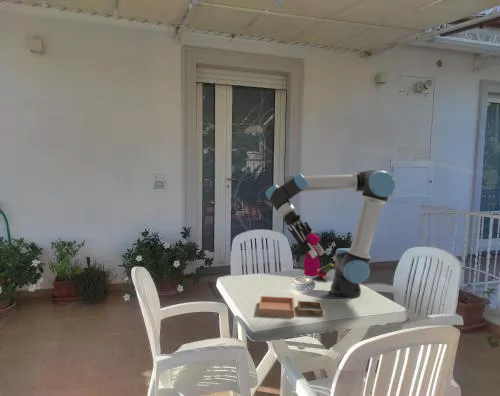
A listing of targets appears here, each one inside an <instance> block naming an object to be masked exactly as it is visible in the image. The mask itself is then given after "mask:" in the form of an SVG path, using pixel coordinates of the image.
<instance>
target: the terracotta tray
mask: <svg viewBox="0 0 500 396" xmlns="http://www.w3.org/2000/svg"><path fill="white" fill-rule="evenodd" d="M257 315H258V316H268V317H269V316H270V317H284V318H285V317H286V318H287V317H288V318H295V297H287V296H286V297H284V296H270V295H269V296H268V295H266V296H265V295H260V299H259V303H258V312H257Z"/></svg>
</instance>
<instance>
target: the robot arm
mask: <svg viewBox="0 0 500 396" xmlns="http://www.w3.org/2000/svg"><path fill="white" fill-rule="evenodd" d="M395 188H396V181H395V179H394V176H393V175H392V174H391V173H389V172H387V171H385V170H382V169H380V170H379V169H378V170H377V169H371V170H365V171H356V172H355V171H353V173H351V174H331V175H329V174H327V175H305V176H304V175H303V174H302V173H301V172H299V173H298V174H296V175H292V176H291V175H290V176H288V177H286V178H285V180H284V182H283V184H282V185H281V186H279V185H278V184H273V185H272V186H270V187H268V188H267V190H266V191H265V196H266V198H267V199H268V200H269V202H270V203H271V205H272V207H274V209H275V210H276V212H277V213H278V215H279V216H280V217H281V219H283V221H284V223H285V224H286V225H287V230H288V231H289V232H290V234H291V235H292V236H293V238H294V240H295V241H296V243H297V244H298V245H299V246H300V247H301V248H303V247H304V248H305V250H306V252H307V251H308V252H309V254H310V255H311V257H312V258H315V257H316V256H317V257H318V255H319V256H320V257H321V256H322V255H324V254H325V253H326V252H325V250H324V249H323V247H322V246H321V245H320V243H318V244H317V245H318V248H317V253H316V252H315V250H314V249H313V247H312V246H311V245H310V243H307V241H306V236H307V235H308V234H311V231H312V230H313V229H312V228H311V226H310V225H309V223H308V222H307V221H304V222H303V220H301V219H300V218H301V214H300V213H299V212H298V210H296V208H295V206H294V205H293V203H292V202H291V201H290V200H291V199H293V198H294V197H295V196H298V194H299V193H301V192H311V191H312V192H313V191H314V192H315V191H317V192H319V191H321V192H322V191H346V190H347V191H348V190H350V191H351V190H352V191H353V192H362V194H361V196H362V198H363V203H362V206H361V210H360V214H359V216H358V220H357V224H356V227H355V230H354V234H353V237H352V240H351V245H350V247H347V248H345V247H344V248H337V249H336V250H335V255H334V256H335V258H334V259H335V261H334V263H335V264H334V278H333V281H332V282H331V285H330V292H331V294H333V295H334V296H339V297H343V298H357V297H359V296H361V292H362V289H361V285H360V284H361V283H363V282H365V281H367V280H368V278H369V276H370V273H371V270H370V266H369V265H370V262H371V259H372V258H371V256H370V254H369V252H370V249H371V246H372V242H373V239H374V236H375V231H376V229H377V226H378V222H379V218H380V215H381V211H382V208H383V205H385V204H386V203H388V200H389V196H390V195H391V194H393V192H394V191H395ZM314 234H316V232H315V233H314Z"/></svg>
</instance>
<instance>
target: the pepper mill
mask: <svg viewBox="0 0 500 396" xmlns="http://www.w3.org/2000/svg"><path fill="white" fill-rule="evenodd" d="M314 233H315V234H314ZM305 239H306V241H307V243H310V245H311V246H312V247H313V249H314V250H315V252H316V253H317V254H318V252H317V248H318V245H317V244H318V243H319V242H320V236H319V235H317V234H316V232H315V230H314V229H312V231H311V234H308V235H307V236H305ZM319 244H320V243H319ZM318 257H319V256H318V255H317V256H316V257H315V258H312V257H311V255H310V254H309V252H308V251H307V250H306V255H305V258H304V259H303V264H302V265H303V268H304V270H303V275H305V276H306V277H318V270H319V269H320V268H321V267H320V260H319V258H318Z"/></svg>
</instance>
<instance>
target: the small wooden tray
mask: <svg viewBox="0 0 500 396" xmlns="http://www.w3.org/2000/svg"><path fill="white" fill-rule="evenodd" d="M307 308H310V309H307ZM311 308H315V309H311ZM297 311H298V314H297V315H298V316H307V317H308V316H310V317H311V316H312V317H324V308H323V305H322V301H308V300H297Z"/></svg>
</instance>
